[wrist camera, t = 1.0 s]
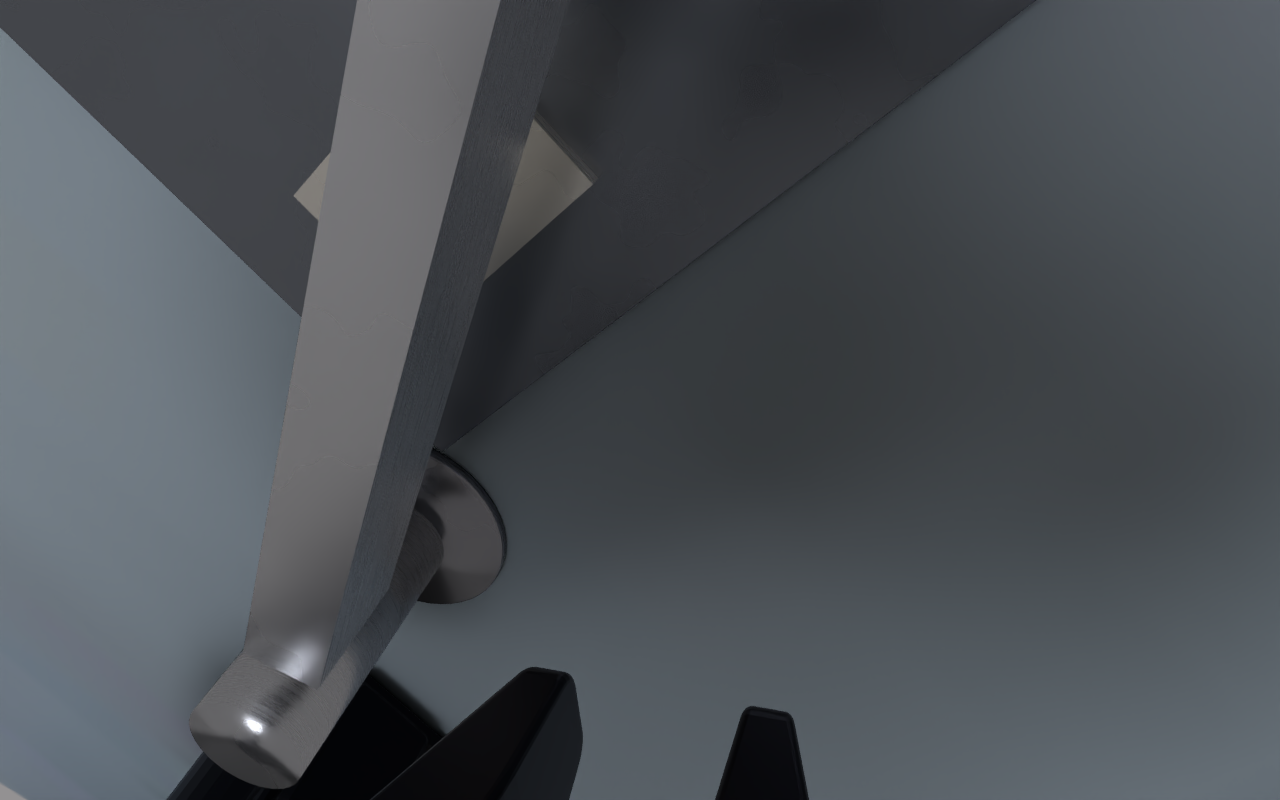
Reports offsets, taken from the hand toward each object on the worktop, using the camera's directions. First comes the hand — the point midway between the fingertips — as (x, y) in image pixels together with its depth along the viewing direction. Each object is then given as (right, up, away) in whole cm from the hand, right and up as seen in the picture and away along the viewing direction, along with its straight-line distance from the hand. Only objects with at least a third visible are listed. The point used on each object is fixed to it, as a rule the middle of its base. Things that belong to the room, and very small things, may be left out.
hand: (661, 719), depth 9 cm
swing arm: (-3, +5, +11) cm, 12 cm away
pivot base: (-6, 0, +16) cm, 17 cm away
